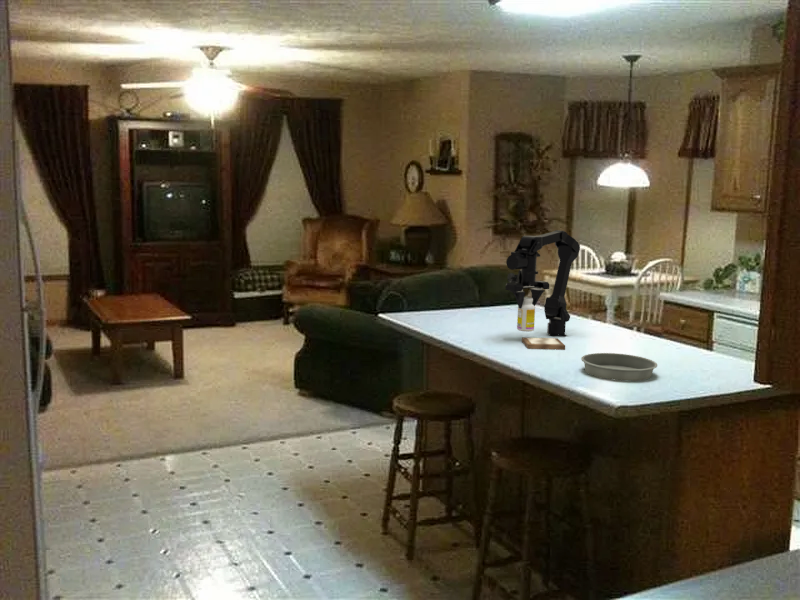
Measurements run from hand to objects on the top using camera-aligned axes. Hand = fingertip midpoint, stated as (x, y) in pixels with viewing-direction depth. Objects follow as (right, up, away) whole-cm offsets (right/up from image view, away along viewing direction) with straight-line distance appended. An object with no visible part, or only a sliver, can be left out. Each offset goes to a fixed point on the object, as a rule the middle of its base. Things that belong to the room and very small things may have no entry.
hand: (526, 307), depth 326 cm
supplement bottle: (0, -9, +1) cm, 9 cm away
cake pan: (+23, -22, -50) cm, 59 cm away
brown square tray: (+5, -14, -8) cm, 17 cm away
